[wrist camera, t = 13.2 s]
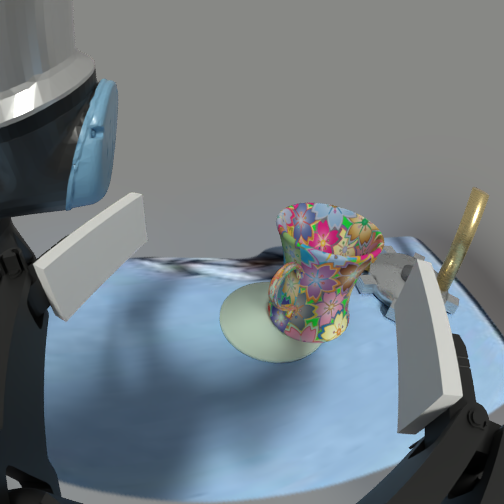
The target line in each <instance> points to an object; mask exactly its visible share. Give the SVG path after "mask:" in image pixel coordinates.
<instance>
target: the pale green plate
mask: <svg viewBox="0 0 504 504" xmlns="http://www.w3.org/2000/svg"><path fill="white" fill-rule="evenodd" d="M269 285H270V282H260V283H253V284H249V285H246V286H243V287H241V288H239V289H237V290H235V291H234V292H233V293H231V294H230V295H229V296H228V297H227V298H226V300H225V301H224V303H223V305H222V307H221V311H220V326H221V329H222V332H223V334H224V336H225V337H226V339H227V340H228V341H229V342H230V344H231V345H232V346H233V347H235V348H236V349H237V350H238V351H240V352H242V353H243V354H245V355H247V356H249V357H251V358H254V359H257V360H260V361H264V362H271V363H286V362H293V361H297V360H300V359H302V358H305V357H307V356H308V355H310V354H312V353H313V352H314V351H315V350H316V349H317V348H318V347H319V346H320V345H321V343H307V342H302V341H298V340H295V339H293V338H291V337H289V336H287V335H286V334H284V333H283V332H281V331H280V330H279V329H278V328H277V327H276V326H275V325H274V323H273V322H272V320H271V318H270V316H269V312H268V303H269V296H268V289H269Z"/></svg>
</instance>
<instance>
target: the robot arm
mask: <svg viewBox="0 0 504 504" xmlns="http://www.w3.org/2000/svg"><path fill="white" fill-rule="evenodd" d="M117 113H118V91H117V85H116V84H115V82H114V81H111V80H106V79H102V80H101V81H99V82H97V79H96V71H95V62H94V59H93V58H92V57H90V56H89V55H87V54H85V53H83V52H81V51H79V50H78V49H77V48H76V47H75V37H74V20H73V0H0V504H83V503H79V502H76V501H72V500H69V499H66V498H62V497H61V492H60V488H59V482H58V478H57V474H56V472H55V470H54V468H53V467H52V465H51V464H50V462H49V460H48V456H47V448H46V437H45V423H44V362H45V347H46V336H47V327H48V318H49V313H48V311H47V308H48V307H49V306H50V305H51V307H52V309H53V311H54V313H55V315H56V316H57V317H59V318H61V319H62V320H64V321H65V322H67V321H68V319H69V318H70V317H71V316H72V315H73V314H74V313H75V312H76V311H77V310H78V309H79V308H80V307H81V306H82V304H83V303H84V302H85V301H86V300H87V299H88V298H89V297H90V296H91V295H92V294H93V293H94V292H95V291H96V290H97V289H98V288H99V287H100V286H101V285H102V284H103V283H104V282H105V281H106V280H107V279H108V278H109V277H110V276H111V275H112V274H113V273H114V272H115V271H116V270H117V269H118V268H119V267H120V266H121V265H122V264H123V263H124V262H125V261H126V260H127V259H128V258H130V257H131V256H132V255H133V254H134V253H135V252H136V251H137V250H138V249H139V248H140V247H141V246H142V245H143V244H144V243H146V242H147V241H148V240H147V231H146V222H145V212H144V202H143V194H139V193H134V192H131V193H129V194H128V195H126V196H124V197H123V198H121V199H120V200H118V201H117V202H115V203H114V204H112V205H111V206H109V207H108V208H107V209H105V210H103V211H102V212H101V213H99V214H98V215H96V216H95V217H93V218H92V219H91V220H89V221H88V222H86V223H85V224H84V225H82V226H81V227H79V228H78V229H77V230H75V231H74V232H73V233H71V234H70V235H68V236H66V237H64V238H63V239H61V240H60V241H59V242H58V243H57V244H55V245H54V246H52V247H51V249H49V250H47V251H46V252H45V253H44V254H42V255H41V256H40V257H39V258H37V259H36V257H35V255H34V253H33V252H32V250H31V249H30V247H29V246H28V245H27V244H26V242H25V241H24V239H23V238H22V237H21V235H20V233H19V232H18V231H17V229H16V228H15V226H14V225H13V223H12V220H11V217H15V216H22V215H29V214H37V213H44V212H53V211H62V210H66V211H68V210H71V209H72V208H75V207H80V206H85V205H91V204H94V203H96V202H98V201H99V200H101V199H102V198H103V197H104V196H105V194H106V192H107V190H108V187H109V184H110V179H111V174H112V167H113V159H114V150H115V140H116V128H117ZM394 310H395V321H396V333H397V350H398V385H399V394H398V428H397V433H402V434H417V433H418V432H419V431H421V430H422V429H424V428H425V436H424V437H423V438H421V439H420V440H419V441H417V442H416V443H414V444H413V445H411V446H410V447H409V448H410V449H412V448H413V447H414V448H413V449H412V450H411V451H410V452H409V453H408V454H407V455H406V456H405V458H404V459H403V460H402V461H401V462H400V463H399V464H398V465H397V466H396V467H395V468H394V469H393V470H392V471H391V472H390V473H389V474H388V475H387V476H386V477H385V478H384V479H383V480H382V481H381V482H380V483H379V484H378V485H377V486H376V487H375V488H374V489H372V490H371V491H370V492H369V493H368V494H367V495H366V496H364V497H363V498H362V499H361V500H360V501H359V502H357V503H356V504H504V425H503V426H501V425H499V424H496V423H494V422H492V421H489V417H488V414H487V411H486V410H485V409H484V407H483V406H482V405H480V404H479V403H476V398H475V392H474V385H473V380H472V374H471V369H470V368H469V367H470V364H469V359H468V355H467V350H466V346H465V344H464V342H463V341H462V339H461V337H460V336H459V335H458V334H453V333H451V329H450V325H449V321H448V317H447V313H446V309H445V306H444V302H443V299H442V295H441V292H440V289H439V285H438V282H437V279H436V276H435V273H434V270H433V267H432V264H431V263H430V262H426V261H423V260H419V259H416V261H415V264H414V266H413V268H412V270H411V272H410V274H409V276H408V278H407V280H406V282H405V284H404V286H403V288H402V290H401V292H400V294H399V296H398V298H397V300H396V302H395V304H394ZM6 475H7V476H9V477H11V478H13V479H15V480H17V481H19V483H20V484H21V486H22V488H18V489H12V490H8V488H7V480H6Z"/></svg>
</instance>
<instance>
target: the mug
mask: <svg viewBox="0 0 504 504" xmlns="http://www.w3.org/2000/svg"><path fill="white" fill-rule="evenodd" d="M276 225H277V229H278V231H279V234H280V237H281V242H282V246H283V253H284V265H283V266H282V267H281V268H280V269H279V270H278V271H277V272H276V274H275V275H274V277H273V278H272V280H271V282H270V285H269V289H268V296H269V303H268V312H269V316H270V318H271V320H272V322H273V323H274V325H275V326H276V327H277V328H278V329H279V330H280V331H281V332H283V333H284V334H286V335H287V336H289V337H291V338H293V339H295V340H298V341H302V342H307V343H323V342H327V341H331V340H333V339H335V338H337V337H339V336H340V335H341V334H342V333H343V332H344V331H345V330H346V328H347V326H348V323H349V311H348V303H349V298H350V295H351V292H352V290H353V287H354V285H355V283H356V282H357V280H358V278H359V277H360V275H361V274H362V272H363V271H364V270H365V268H366V267H367V266H368V265H369V264H370V263H371V262H372V261H373V260H374V259H375V258H376V257H377V256H378V255H379V254H380V253H381V251H382V250H383V247H384V238H383V235H382V234H381V232H380V231H379V229H378V228H377V227H376V226H375V225H374V224H373V223H371V222H370V221H369V220H367V219H366V218H364V217H363V216H361V215H359V214H357V213H355V212H352V211H350V210H347V209H344V208H341V207H337V206H333V205H328V204H321V203H300V204H295V205H291V206H289V207H286V208H285V209H283V210H282V211H281V212H280V213H279V214H278V216H277V219H276Z"/></svg>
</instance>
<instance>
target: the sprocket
mask: <svg viewBox="0 0 504 504" xmlns="http://www.w3.org/2000/svg"><path fill="white" fill-rule="evenodd" d="M488 198H489V195H488V194H487V193H485V192H484V191H482V190H480V189H478V188H475V187H473V188H472V192H471V194H470V198H469V200H468V203H467V206H466V209H465V212H464V215H463V217H462V220H461V222H460V225H459V228H458V230H457V233H456V235H455V238H454V240H453V242H452V245H451V247H450V250H449V252H448V254H447V256H446V258H445V261H444V263H443V265H442V267H441V269H440V271H439V273H437V272H436V271H435V270H434V269H433V270H434V273H435V276H436V279H437V282H438V285H439V289H440V292H441V295H442V299H443V302H444V306H445V309H446V311H447V312H449V313H451V314H454V313H455V311H456V309H457V308H458V305H459V299H458V298H456V297H454V296H452V295H450V294H449V293H448V289H449V287H450V286H451V284H452V282H453V280H454V278H455V276H456V274H457V272H458V270H459V268H460V266H461V264H462V262H463V259H464V257H465V255H466V253H467V251H468V248H469V246H470V244H471V242H472V239H473V237H474V235H475V232H476V230H477V227H478V225H479V222H480V220H481V217H482V214H483V212H484V209H485V206H486V203H487V201H488ZM416 259H419V260H423V261H424V259H425V257H424V256H422V255H419V254H417V253H415V255H414V257H411V256H408V255H405V254H400V253H396V252H395V250H394V249H393V248H392V247H391V246H384V247H383V250H382V251H381V253H380V254H379V255H378V256H377V257H376V258H375V259H374V260H373V261H372V262H371V263H370V264H369V265H368V266H367V267H366V268H365V270H366V271H368V273H367V275H360V277H359V278H358V280H357V283H356V286H357V287H358V289H359V291H360V293H361V294H371V293H374V294H375V295H376V296H377V298H379V299H380V300H381V301H382V302H383V303H384V304H385V305H387V306H388V307H390V308H389V310H388V312H387V314H386V317H388V318H389V319H391V320H393V321H395V310H394V304H395V302H396V300H397V298H398V296H399V294H400V292H401V290H402V288H403V286H404V284H405V282H406V280H407V278H408V276H409V274H410V272H411V270H412V268H413V266H414V264H415V261H416ZM395 322H396V321H395Z"/></svg>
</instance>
